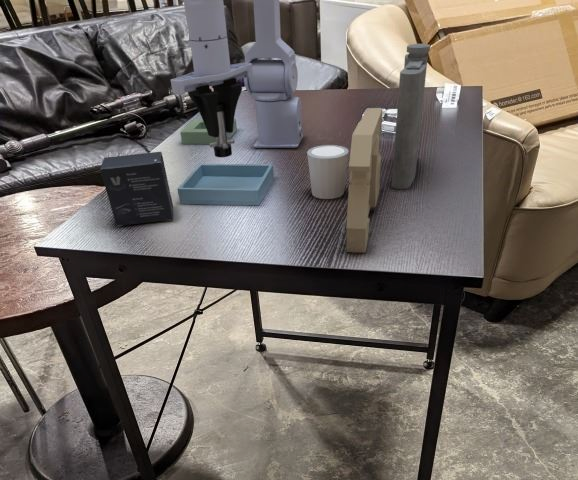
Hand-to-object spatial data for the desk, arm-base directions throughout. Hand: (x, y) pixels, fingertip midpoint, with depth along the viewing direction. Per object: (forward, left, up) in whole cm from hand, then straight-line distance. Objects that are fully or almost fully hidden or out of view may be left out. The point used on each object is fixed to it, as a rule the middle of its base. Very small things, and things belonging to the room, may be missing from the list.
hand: (220, 133), depth 88 cm
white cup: (-18, 0, -10) cm, 21 cm away
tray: (0, 0, -10) cm, 10 cm away
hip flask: (-31, -10, -10) cm, 34 cm away
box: (+11, +12, -10) cm, 19 cm away
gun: (-25, +10, -10) cm, 29 cm away
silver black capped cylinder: (0, 0, -3) cm, 3 cm away
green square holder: (+13, -31, -10) cm, 35 cm away
